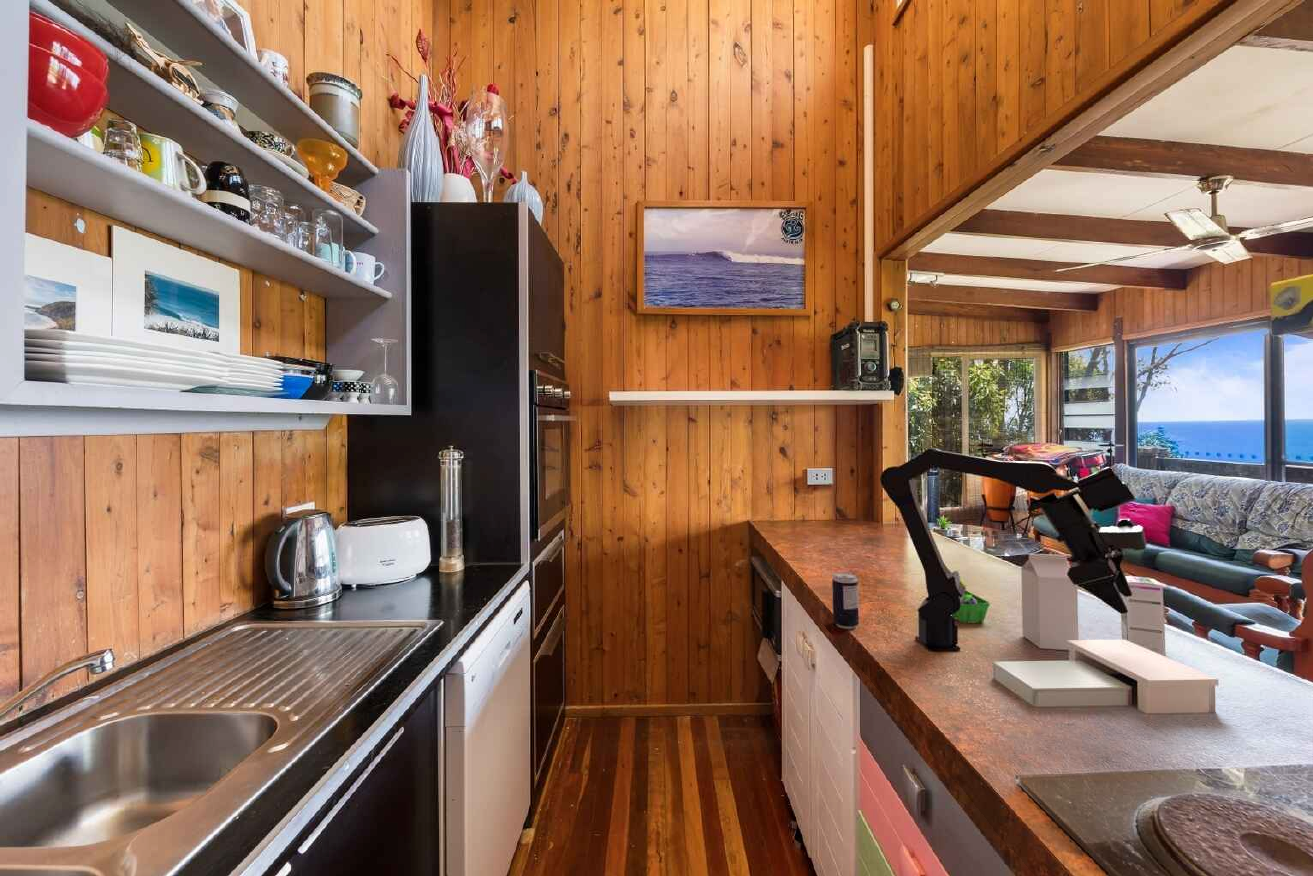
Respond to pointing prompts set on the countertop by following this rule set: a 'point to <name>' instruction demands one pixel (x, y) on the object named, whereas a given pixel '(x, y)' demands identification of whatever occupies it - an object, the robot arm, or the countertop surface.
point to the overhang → (1150, 675)
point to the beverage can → (845, 600)
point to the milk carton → (1049, 602)
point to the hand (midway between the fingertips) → (1127, 604)
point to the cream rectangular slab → (1061, 683)
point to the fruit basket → (971, 608)
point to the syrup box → (1144, 614)
